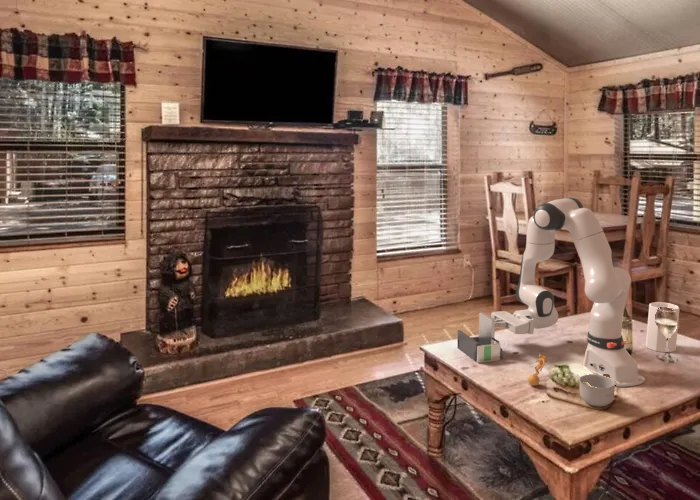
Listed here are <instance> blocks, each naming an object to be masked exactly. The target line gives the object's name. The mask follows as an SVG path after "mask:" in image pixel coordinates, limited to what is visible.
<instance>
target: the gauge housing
mask: <svg viewBox="0 0 700 500" xmlns="http://www.w3.org/2000/svg"><path fill="white" fill-rule="evenodd" d="M457 349H459V350H460V351H461V352H462V353H463V354H465V355H466V356H467V357H469V358H470V359H471V360H473V361H474V362H475V363H477V364H482V363H489V362H495V361H496V362H497V361H501V359H503V348H502V347H501V343H500V342H499V343H497V342H496V343H494V344H487V345H480V344H479V335H478V336H472V337H471V336H470V335H468V334H467V333H465V332H463V331H462V330H461V329H459V330H457Z"/></svg>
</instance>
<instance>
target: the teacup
mask: <svg viewBox="0 0 700 500" xmlns="http://www.w3.org/2000/svg"><path fill="white" fill-rule="evenodd" d="M578 382H579V383H578V385H579V395H580V397H581V399H582V400H583V401H584V402H585V403H587V404H588V405H590V406H592V407H598V408H599V407H605V406H608V405H609V404H611V403H612V402H613V401H614V398H615V390H616V389H615V387H616V386H615V382H614V380H613V379H611V378H609V377H606V376H603V375H598V373H593V374H589V375H587V374H584V375H581V376H580V377H579V379H578ZM583 382H588V383H589V384H590V385H591V386H594V387H590V386H587V385H585V384H583ZM595 387H597V388H595Z"/></svg>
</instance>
